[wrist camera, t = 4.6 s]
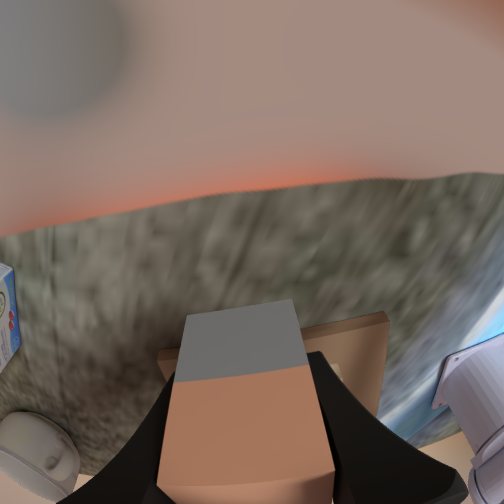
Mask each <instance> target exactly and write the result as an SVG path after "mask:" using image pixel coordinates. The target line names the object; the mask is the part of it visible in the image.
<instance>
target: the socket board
mask: <svg viewBox="0 0 504 504" xmlns="http://www.w3.org/2000/svg"><path fill="white" fill-rule="evenodd" d="M389 326H390V320H389V319H388V317H387V316H386V314H385V312H384V311H382V312H378V313H374V314H370V315H365V316H361V317H357V318H352V319H348V320H343V321H339V322H334V323H329V324H324V325H319V326H314V327H309V328H304V329H300V331H301V335H302V339H303V343H304V347H305V351H306V353H310V352H315V351H321V352H322V353H323V355H324V357H325V358H326V360H327V361H328V363H329V365H330V366H331V367H332V369H333V370H334V372H335V373H336V374H337V376H338V377H339V378H340V380H341V381H342V382H343V383H344V385H345V386H346V387H347V388H348V389H349V391H350V392H351V393H352V394H353V395H354V396H355V397H356V399H357V400H358V401H359V402H360V403H361V404H362V405H363V406H364V407H365V408H366V409H367V410H368V411H369V412H370V413H371V414H372V415H373V416H374V417H375V418H376V415H377V410H378V405H379V399H380V393H381V387H382V381H383V375H384V368H385V361H386V353H387V345H388V336H389ZM179 352H180V348H171V349H161V350H159V353H158V357H157V363H158V365H159V367H160V369H161V372H162V374H163V376H164V378H165V379H166V381H167V382H168V380H169V378H170V376H171V375H172V373H173V372H174V371H176V367H177V362H178V357H179Z"/></svg>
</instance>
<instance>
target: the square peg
mask: <svg viewBox="0 0 504 504" xmlns="http://www.w3.org/2000/svg"><path fill="white" fill-rule="evenodd" d="M334 476H335V468H334V464H333V459H332V455H331V451H330V447H329V443H328V438H327V434H326V430H325V426H324V422H323V418H322V414H321V410H320V406H319V402H318V398H317V394H316V390H315V386H314V382H313V378H312V374H311V370H310V366H309V362H308V358H307V354H306V351H305V347H304V343H303V339H302V335H301V331H300V328H299V324H298V320H297V316H296V313H295V309H294V305H293V302H292V299H288V300H282V301H276V302H271V303H265V304H259V305H253V306H246V307H240V308H234V309H228V310H221V311H214V312H208V313H201V314H194V315H187V318H186V323H185V328H184V332H183V337H182V342H181V347H180V352H179V357H178V362H177V367H176V372H175V378H174V383H173V388H172V394H171V399H170V405H169V410H168V416H167V422H166V428H165V434H164V440H163V446H162V452H161V459H160V466H159V472H158V479H157V486H158V487H159V488H160V489H161V490H162V491H163V492H164V493H165V494H166V495H168V496H169V497H170V498H171V499H172V500H173V501H174V502H175V503H176V504H332V496H333V486H334Z"/></svg>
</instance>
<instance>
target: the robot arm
mask: <svg viewBox="0 0 504 504" xmlns="http://www.w3.org/2000/svg"><path fill="white" fill-rule="evenodd" d="M306 354H307V358H308V362H309V366H310V370H311V374H312V378H313V382H314V386H315V390H316V394H317V398H318V402H319V406H320V410H321V414H322V418H323V422H324V426H325V430H326V434H327V438H328V443H329V447H330V451H331V455H332V459H333V464H334V468H335V476H334V486H333V496H332V497H333V503H334V504H460V503H461V502H462V501H464V500H465V498H466V497H467V496H468V494H469V493H470V496H471V498H472V501H473V503H474V504H504V334H501V335H499V336H497V337H495V338H492V339H490V340H488V341H485V342H483V343H481V344H478V345H476V346H473V347H471V348H469V349H466V350H463V351H461V352H458V353H456V354H453V355H451V356H449V357H448V358H447V360H446V363H445V366H444V370H443V373H442V376H441V379H440V382H439V385H438V388H437V391H436V394H435V397H434V399H433V402H432V405H431V408H432V409H437V408H439V407H442V406H444V405H447V404H448V405H449V407H450V409H451V411H452V412H453V414H454V416H455V418H456V420H457V421H458V423H459V425H460V427H461V429H462V431H463V433H464V434H465V436H466V438H467V440H468V442H469V444H470V446H471V448H472V450H473V452H474V454H475V457H474V458H473V459H471V463H472V465H473V468H472V469H471V470H470V473H469V479H468V489H469V491H468V489H467V486H466V484H465V482H464V481H463V479H462V478H461V476H460V474H459V473H458V472H457V470H456V469H454V468H452V467H450V466H448V465H445V464H443V463H441V462H439V461H437V460H435V459H433V458H432V457H430V456H428V455H426V454H424V453H423V452H421V451H419V450H418V449H416V448H415V447H413V446H412V445H410V444H409V443H407V442H406V441H404V440H403V439H402V438H400V437H399V436H397V435H396V434H395V433H393V432H392V431H391V430H390V429H388V428H387V427H386V426H385V425H383V424H382V423H381V422H380V421H379V420H378V419H377V418H375V417H374V416H373V415H372V414H371V413H370V412H369V411H368V410H367V409H366V408H365V407H364V406H363V405H362V404H361V403H360V402H359V401H358V400H357V399H356V397H355V396H354V395H353V394H352V393H351V392H350V391H349V389H348V388H347V387H346V386H345V385H344V383H343V382H342V381H341V380H340V378H339V377H338V376H337V374H336V373H335V372H334V370H333V369H332V367H331V366H330V365H329V363H328V361H327V360H326V358H325V357H324V355H323V353H322V352H321V351H315V352H310V353H306ZM175 372H176V371H174V372H173V373H172V375H171V376H170V378H169V380H168V382H167V383H166V385H165V387H164V388H163V390H162V392H161V394H160V395H159V397H158V399H157V400H156V402H155V404H154V405H153V407H152V408H151V410H150V411H149V413H148V415H147V416H146V418H145V419H144V421H143V422H142V423H141V425H140V426H139V428H138V429H137V430H136V432H135V433H134V435H133V436H132V437H131V438H130V440H129V441H128V442H127V443H126V445H125V446H124V447H123V448H122V449H121V451H120V452H119V453H118V454H117V455H116V456H115V457H114V458H113V459H112V460H111V461H110V462H109V463H108V464H107V465H106V466H105V467H104V468H103V469H102V470H101V471H100V472H99V473H98V474H97V475H95V476H94V477H93V478H92V479H91V480H89V481H88V482H87V483H86V484H84V485H83V486H82V487H80V488H79V489H78V490H76V491H75V492H73V493H72V494H70V495H68V496H67V497H65V498H64V499H62V500H60V501H59V502H57V503H56V504H176V503H175V502H174V501H173V500H172V499H171V498H170V497H169V496H168V495H166V494H165V493H164V492H163V491H162V490H161V489H160V488H159V487H158V486H157V479H158V472H159V466H160V459H161V452H162V446H163V440H164V434H165V428H166V422H167V416H168V410H169V405H170V399H171V394H172V388H173V383H174V378H175Z"/></svg>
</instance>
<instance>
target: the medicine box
mask: <svg viewBox="0 0 504 504" xmlns="http://www.w3.org/2000/svg"><path fill="white" fill-rule="evenodd" d="M20 345H21V337H20V331H19V325H18V317H17V310H16V300H15V287H14V271H13V268H12V267H9V266H7V265H5V264H3V263H1V262H0V373H1V372H2V370H3V369H4V367H5V366H6V364H7V363H8V362H9V360H10V359H11V357H12V356H13V355H14V353H15V352H16V351H17V349H18V348H19V346H20Z"/></svg>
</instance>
